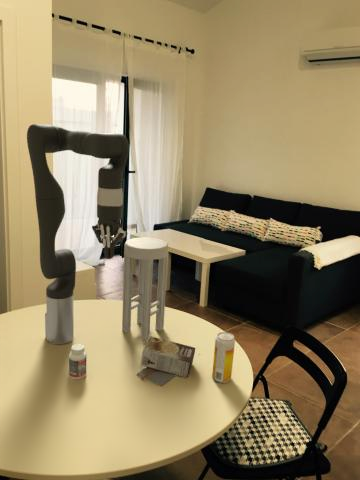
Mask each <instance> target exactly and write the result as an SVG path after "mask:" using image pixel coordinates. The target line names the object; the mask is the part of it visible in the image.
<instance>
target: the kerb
mask: <svg viewBox="0 0 360 480" xmlns="http://www.w3.org/2000/svg"><path fill="white" fill-rule="evenodd" d="M156 370H157V369H154V368H151V369H150V370H148V371H147V372H145V373H144V374H142V375H141V376H140V380H142V381H144V380H146V379H145V377H147V376H148V375H150V374H151V373H153V372H154V371H156Z"/></svg>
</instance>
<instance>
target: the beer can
mask: <svg viewBox="0 0 360 480" xmlns="http://www.w3.org/2000/svg"><path fill="white" fill-rule="evenodd" d="M214 340H215V341H214V352H213V362H212V375H211V376H212V378H213V379H214V381H215V382H217V383H222V384H225V383H228V382H230V380H231V379H232V374H233V373H232V372H233V365H234V364H233V363H234V362H233V361H234V356H235V355H234V354H235V345H236V344H235V343H236V339H235V336H234V334H232V333H230V332H226V331H222V332H221V331H220V332H219V333H217V334H216V337H215V338H214Z"/></svg>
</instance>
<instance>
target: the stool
mask: <svg viewBox="0 0 360 480" xmlns="http://www.w3.org/2000/svg"><path fill="white" fill-rule="evenodd" d="M123 250H124V251H123V282H122V283H123V285H122V287H123V288H122V320H121V321H122V324H121V325H122V328H121V331H122V332H125V333H128V332H131V325H132V324H131V323H132V310H134V309H136V308H137V309H136V310H137V313H136V314H137V315H136V324H139V325H140V324H141V330H140V338H141V339H143V340H145V341H146V340H147V341H148V339H149V337H150V336H151V334H150V333H151V332H150V330H151V317H152V316H153V315H155V327H154V328H155V330H156V331H159V332H161V331H162V330H164V325H165V311H166V310H165V308H166V307H165V305H166V291H167V290H166V288H167V270H168V256H169V255H168V252H169V243H168V242H167V241H165V240H163V239H160V238H156V237H143V236H141V237H133V238H130V239H127V240H126V241H125V243H124V248H123ZM134 259H136V260H138V285H137V290H138V291H137V295H135V296H133V297H132V294H133V293H132V292H133V291H132V290H133V261H134ZM155 260H158V269H157V271H158V272H157V273H158V274H157V290H156V291H157V292H156V301H154V302H152V290H153V289H152V288H153V268H154V267H153V266H154V261H155ZM135 301H137V302H135ZM133 302H135V303H134V304H132V303H133ZM154 307H156V308H155V309H153V308H154ZM152 309H153V310H152Z"/></svg>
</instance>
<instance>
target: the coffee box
mask: <svg viewBox="0 0 360 480" xmlns="http://www.w3.org/2000/svg"><path fill="white" fill-rule="evenodd" d="M195 353H196V347H193V346H190V345H186V344H182V343H179V342H174V341H171V340H167V339H164V338H163V339H162V338H160V337H156V336H152V335H150V337H149V338H148V339H147V341H146V343H145V345H144V346H143V349H142V353H141V359H140V360H141V361H140V365H141V366H144V367H150V368H154V369H158V370H161V371H165V372H169V373H172V374H176V376H181V377H184V378H189V376H190V373H191V370H192V366H193V363H194V358H195Z"/></svg>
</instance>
